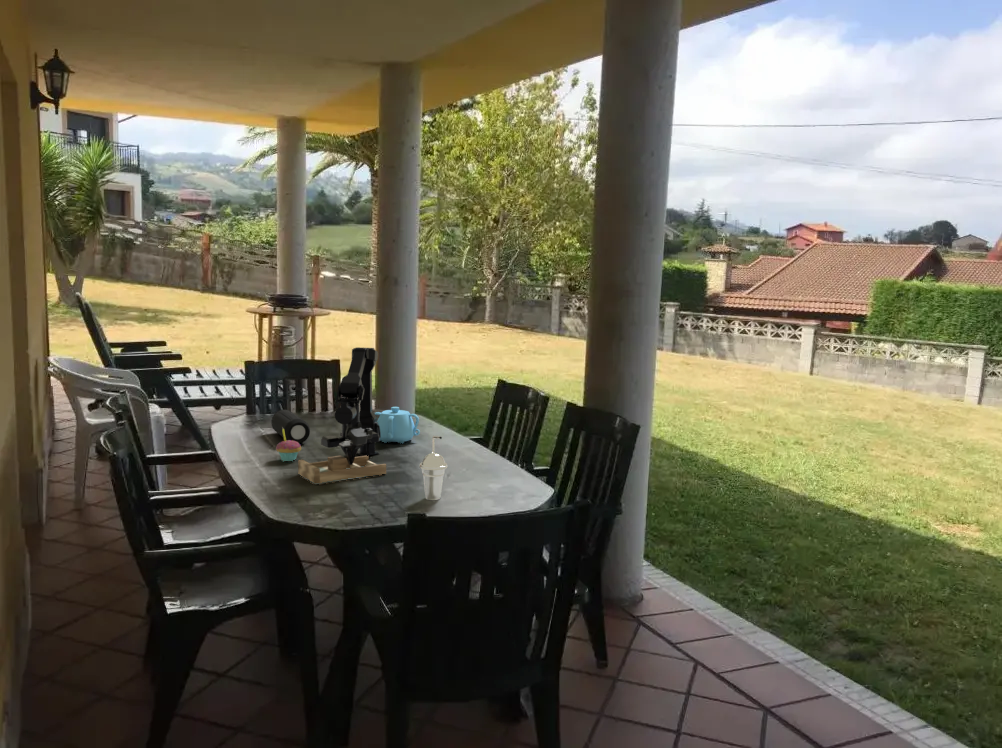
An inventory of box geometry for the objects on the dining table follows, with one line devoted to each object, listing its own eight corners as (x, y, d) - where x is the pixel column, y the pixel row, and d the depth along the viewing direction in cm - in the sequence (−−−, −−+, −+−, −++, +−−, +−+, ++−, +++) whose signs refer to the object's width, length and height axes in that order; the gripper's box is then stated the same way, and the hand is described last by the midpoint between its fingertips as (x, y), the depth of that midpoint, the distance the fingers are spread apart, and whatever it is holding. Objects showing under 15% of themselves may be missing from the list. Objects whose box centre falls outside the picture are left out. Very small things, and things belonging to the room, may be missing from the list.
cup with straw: (447, 494, 245) (448, 430, 243) (446, 502, 236) (447, 436, 234) (419, 493, 245) (420, 430, 242) (417, 502, 236) (418, 436, 233)
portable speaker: (311, 444, 306) (311, 419, 304) (286, 447, 301) (285, 421, 299) (294, 431, 328) (294, 407, 326) (269, 433, 323) (269, 409, 321)
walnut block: (327, 468, 263) (327, 457, 263) (340, 467, 266) (340, 455, 265) (333, 472, 260) (333, 460, 259) (346, 470, 262) (346, 458, 262)
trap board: (298, 474, 262) (298, 460, 262) (367, 465, 277) (367, 451, 276) (315, 485, 251) (315, 469, 251) (386, 474, 266) (386, 459, 265)
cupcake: (276, 463, 276) (275, 429, 274) (276, 457, 284) (275, 424, 282) (301, 462, 278) (301, 429, 276) (301, 456, 286) (300, 424, 285)
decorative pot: (404, 435, 327) (405, 402, 325) (422, 442, 313) (423, 408, 312) (367, 439, 318) (367, 405, 316) (384, 447, 305) (384, 412, 303)
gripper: (334, 425, 251) (334, 473, 253) (387, 420, 262) (387, 466, 264) (320, 419, 260) (320, 466, 262) (371, 414, 271) (371, 459, 273)
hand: (350, 464), depth 265 cm, fingers closed
